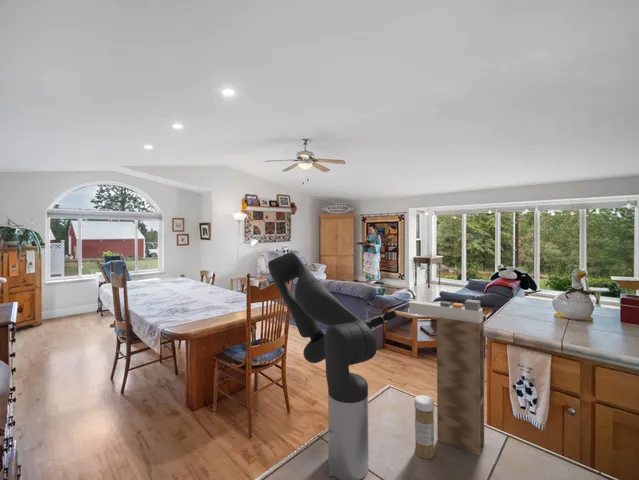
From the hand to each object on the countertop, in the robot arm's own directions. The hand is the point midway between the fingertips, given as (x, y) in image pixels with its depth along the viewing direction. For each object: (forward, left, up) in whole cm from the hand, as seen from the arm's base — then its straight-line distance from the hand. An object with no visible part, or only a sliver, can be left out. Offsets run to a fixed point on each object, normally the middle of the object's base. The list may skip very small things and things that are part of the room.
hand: (389, 316), depth 94 cm
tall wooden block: (+16, -13, -30) cm, 36 cm away
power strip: (+13, -10, +2) cm, 16 cm away
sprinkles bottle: (+5, -17, -30) cm, 35 cm away
